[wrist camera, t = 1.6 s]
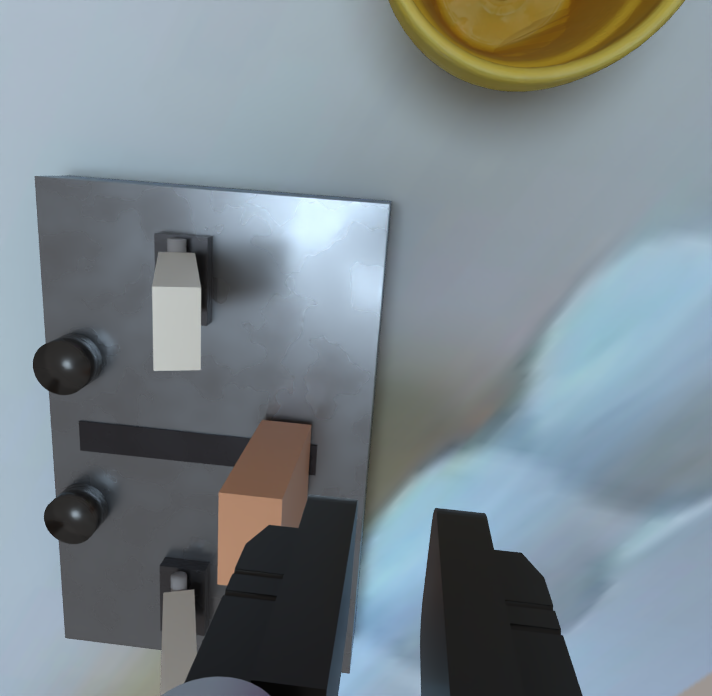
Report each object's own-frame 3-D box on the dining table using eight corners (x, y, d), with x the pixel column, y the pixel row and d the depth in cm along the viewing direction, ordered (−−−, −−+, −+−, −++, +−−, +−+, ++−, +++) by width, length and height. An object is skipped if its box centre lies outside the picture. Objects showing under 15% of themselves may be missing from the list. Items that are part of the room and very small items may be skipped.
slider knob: (311, 424, 30) (282, 499, 23) (307, 499, 31) (278, 591, 24) (261, 419, 30) (218, 492, 24) (259, 494, 31) (217, 584, 25)
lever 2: (193, 569, 33) (199, 700, 25) (193, 631, 34) (198, 774, 26) (163, 573, 32) (159, 706, 24) (164, 635, 33) (160, 781, 26)
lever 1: (194, 238, 28) (200, 271, 20) (194, 322, 29) (200, 384, 21) (158, 237, 28) (151, 270, 20) (159, 321, 29) (153, 385, 21)
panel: (391, 200, 30) (388, 206, 26) (354, 634, 37) (346, 695, 33) (69, 175, 31) (14, 176, 27) (91, 602, 38) (50, 657, 34)
